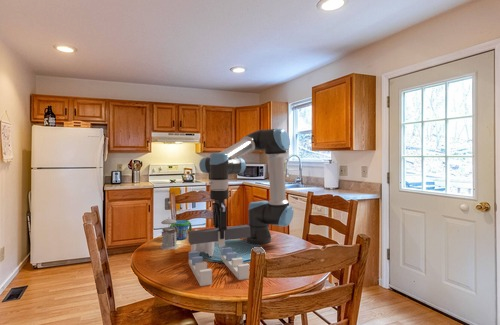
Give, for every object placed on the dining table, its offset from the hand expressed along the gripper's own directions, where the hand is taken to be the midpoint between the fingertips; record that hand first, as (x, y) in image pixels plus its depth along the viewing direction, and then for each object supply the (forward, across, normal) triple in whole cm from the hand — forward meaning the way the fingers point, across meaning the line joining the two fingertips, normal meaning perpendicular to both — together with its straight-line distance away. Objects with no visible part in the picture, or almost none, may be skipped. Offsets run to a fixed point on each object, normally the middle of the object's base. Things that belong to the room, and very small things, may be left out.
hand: (219, 244), depth 126 cm
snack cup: (+13, -62, -6) cm, 63 cm away
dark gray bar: (-2, 0, 0) cm, 2 cm away
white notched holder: (+12, -3, 0) cm, 12 cm away
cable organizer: (+12, -27, -1) cm, 30 cm away
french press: (+12, -46, -15) cm, 50 cm away
